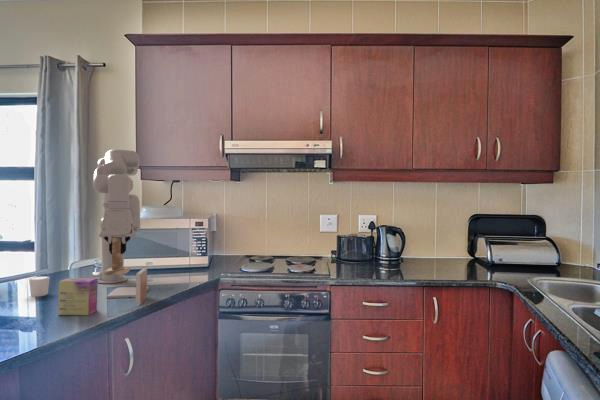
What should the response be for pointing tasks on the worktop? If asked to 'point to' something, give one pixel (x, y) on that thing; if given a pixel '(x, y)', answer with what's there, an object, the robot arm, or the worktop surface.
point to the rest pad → (123, 292)
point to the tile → (141, 285)
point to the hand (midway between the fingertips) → (117, 253)
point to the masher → (117, 259)
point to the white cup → (39, 286)
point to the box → (77, 296)
